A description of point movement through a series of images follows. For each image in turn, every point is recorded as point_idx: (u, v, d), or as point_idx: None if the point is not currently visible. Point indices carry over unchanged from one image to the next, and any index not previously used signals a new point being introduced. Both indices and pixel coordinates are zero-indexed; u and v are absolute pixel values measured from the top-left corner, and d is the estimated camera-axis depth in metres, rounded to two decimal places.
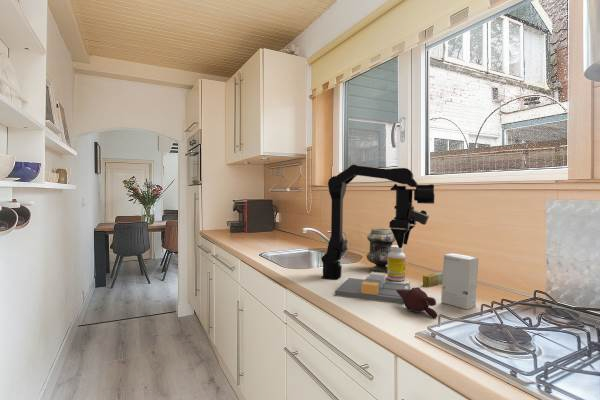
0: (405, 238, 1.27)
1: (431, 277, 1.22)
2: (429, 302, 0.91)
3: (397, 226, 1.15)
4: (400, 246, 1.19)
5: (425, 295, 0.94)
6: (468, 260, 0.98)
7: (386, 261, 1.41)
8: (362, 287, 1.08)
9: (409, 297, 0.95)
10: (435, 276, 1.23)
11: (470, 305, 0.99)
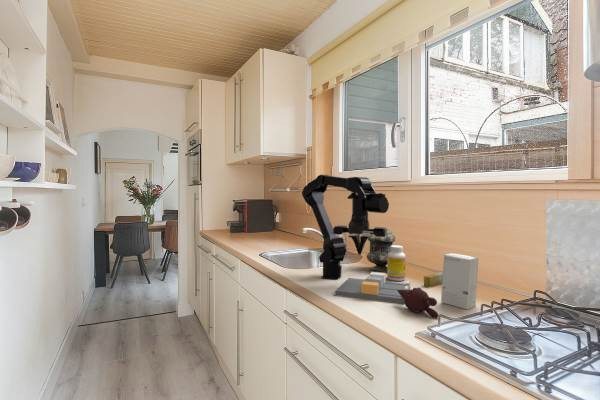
0: None
1: (432, 277, 1.21)
2: (430, 302, 0.90)
3: None
4: None
5: (426, 295, 0.94)
6: (468, 260, 0.98)
7: (386, 261, 1.41)
8: (362, 287, 1.08)
9: (410, 297, 0.95)
10: (436, 276, 1.23)
11: (470, 305, 0.99)
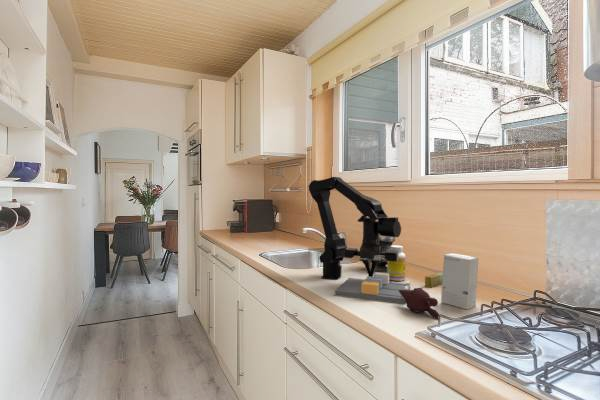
0: (371, 272, 1.22)
1: (433, 278, 1.21)
2: (431, 303, 0.90)
3: None
4: None
5: (427, 296, 0.94)
6: (468, 260, 0.98)
7: (386, 261, 1.41)
8: (362, 287, 1.08)
9: (411, 297, 0.94)
10: (437, 276, 1.23)
11: (470, 305, 0.99)
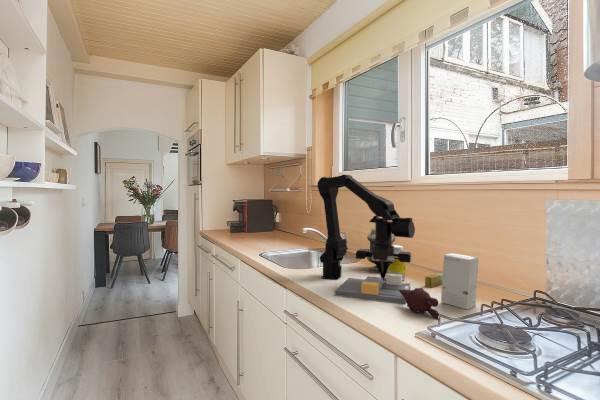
0: None
1: (433, 278, 1.21)
2: (431, 303, 0.90)
3: None
4: None
5: (428, 296, 0.94)
6: (468, 260, 0.98)
7: None
8: (362, 287, 1.08)
9: (411, 298, 0.94)
10: (437, 277, 1.22)
11: (470, 305, 0.99)
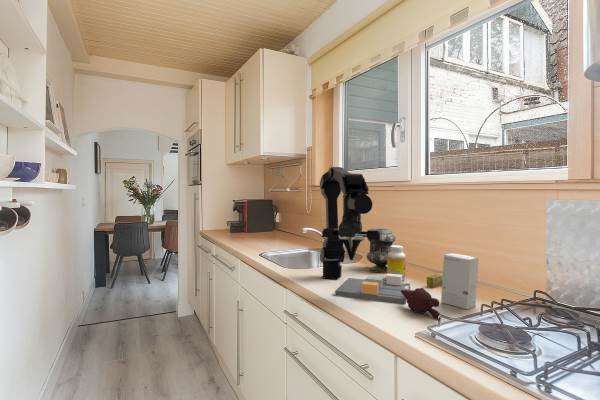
0: None
1: (435, 278, 1.21)
2: (432, 303, 0.90)
3: None
4: None
5: (429, 296, 0.93)
6: (468, 260, 0.98)
7: (386, 261, 1.41)
8: (362, 287, 1.08)
9: (412, 298, 0.94)
10: (439, 277, 1.22)
11: (470, 305, 0.99)
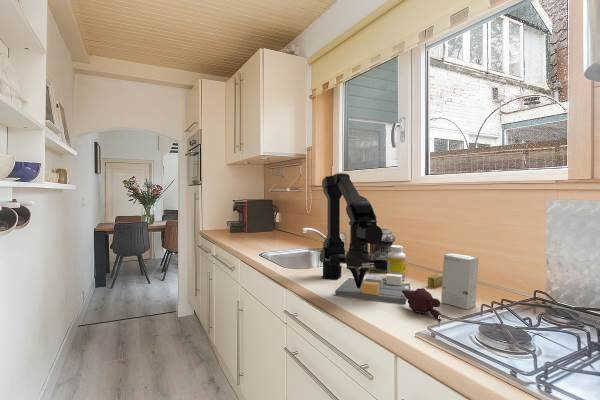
0: None
1: (436, 278, 1.20)
2: (433, 303, 0.90)
3: None
4: None
5: (430, 296, 0.93)
6: (468, 260, 0.98)
7: None
8: (362, 287, 1.08)
9: (413, 298, 0.94)
10: (440, 277, 1.22)
11: (470, 305, 0.99)
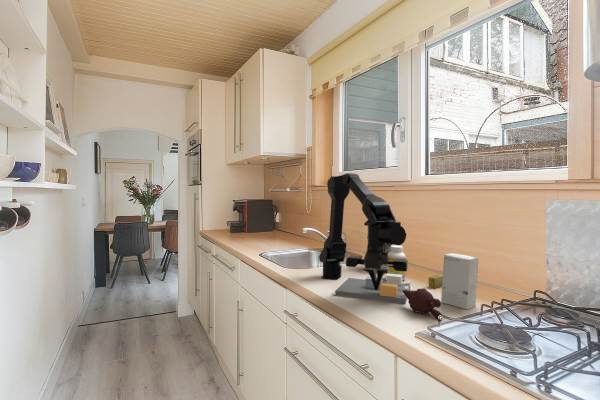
0: None
1: (437, 278, 1.20)
2: (434, 303, 0.89)
3: None
4: None
5: (431, 296, 0.93)
6: (468, 260, 0.98)
7: None
8: (381, 289, 1.05)
9: (414, 298, 0.94)
10: (441, 277, 1.21)
11: (470, 305, 0.99)
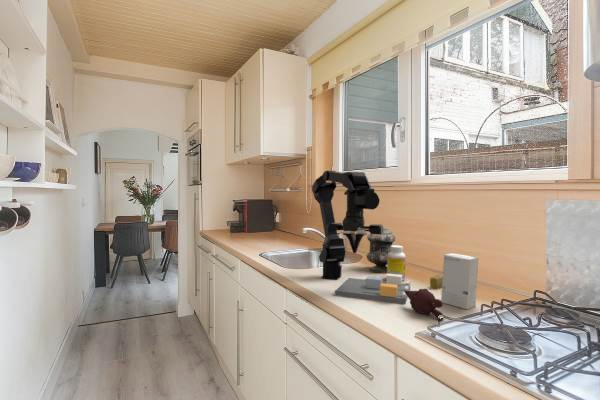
0: None
1: (439, 279, 1.20)
2: (435, 304, 0.89)
3: None
4: None
5: (432, 297, 0.93)
6: (468, 260, 0.98)
7: (386, 261, 1.41)
8: (381, 289, 1.05)
9: (416, 298, 0.94)
10: (442, 278, 1.21)
11: (470, 305, 0.99)
